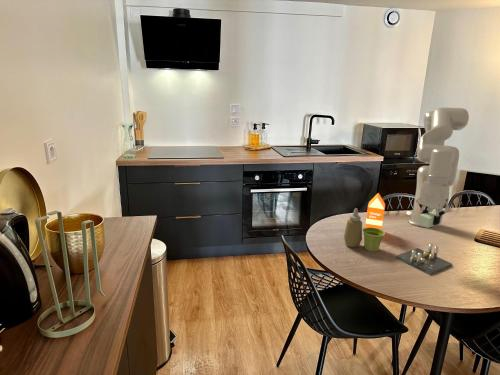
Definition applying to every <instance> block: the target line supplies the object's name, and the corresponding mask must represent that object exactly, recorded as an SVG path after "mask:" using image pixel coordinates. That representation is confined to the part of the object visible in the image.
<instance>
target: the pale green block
mask: <svg viewBox="0 0 500 375" xmlns="http://www.w3.org/2000/svg"><path fill="white" fill-rule="evenodd" d="M434 216H436V211H434V210H433V211H432V212H428V213H425V214H421V215H419V218H418V224H419V225H422V226H424V227H423V228H427V229H428V228H431V227H435V226H439V225H441V224H442V222H443V217H444V214H443V215H442V216H441V219H440V223H439V224H438V225H433V220H434Z"/></svg>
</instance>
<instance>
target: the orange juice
mask: <svg viewBox="0 0 500 375" xmlns="http://www.w3.org/2000/svg"><path fill="white" fill-rule="evenodd" d="M385 208H386V203H385V201H384V200H383V198H382V196H381V194H380V193H379V192H378V193H377V194H376V195H375V196H373V198H371V200H370V201H369V202H368V205H367V210H366V211H367V212H366V219H365V227H364V228H366V227H374V228H378V229H381V230H382V228H383V221H384V216H385V215H384V213H385Z"/></svg>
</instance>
